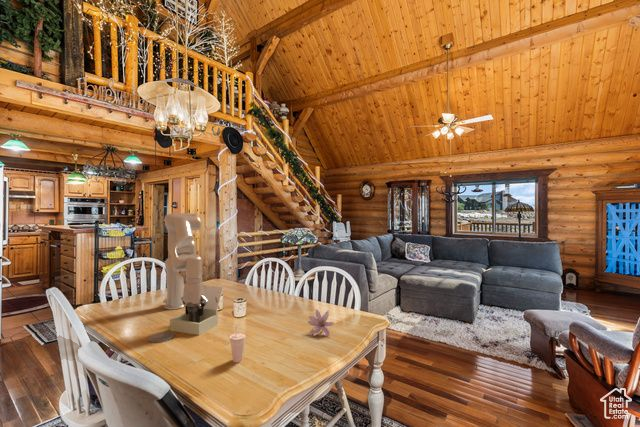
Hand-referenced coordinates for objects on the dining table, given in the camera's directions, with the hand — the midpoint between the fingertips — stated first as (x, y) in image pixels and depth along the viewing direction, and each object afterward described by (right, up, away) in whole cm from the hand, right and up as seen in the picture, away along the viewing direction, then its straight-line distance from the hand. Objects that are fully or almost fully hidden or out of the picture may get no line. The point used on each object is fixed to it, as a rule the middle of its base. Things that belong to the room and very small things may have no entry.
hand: (194, 314), depth 154 cm
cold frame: (+1, -7, +2) cm, 7 cm away
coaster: (-10, -7, -12) cm, 18 cm away
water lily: (+65, -7, -8) cm, 66 cm away
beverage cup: (0, -7, 0) cm, 7 cm away
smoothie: (+32, -7, -34) cm, 47 cm away
